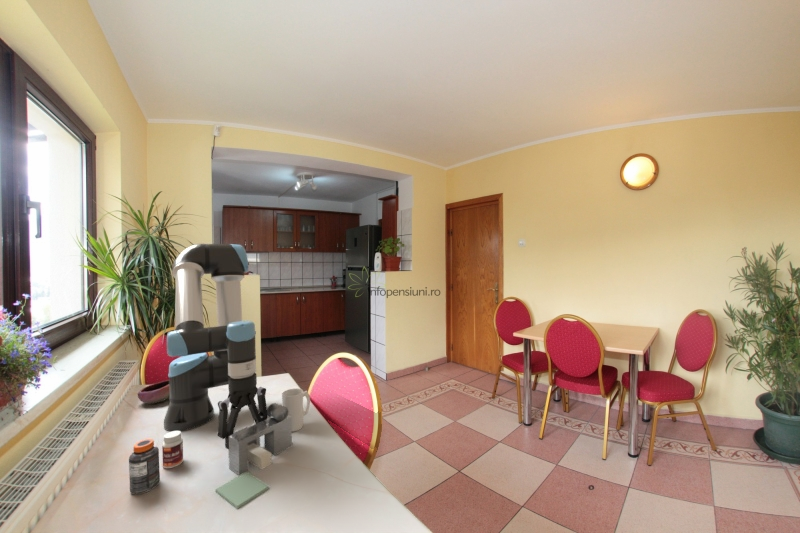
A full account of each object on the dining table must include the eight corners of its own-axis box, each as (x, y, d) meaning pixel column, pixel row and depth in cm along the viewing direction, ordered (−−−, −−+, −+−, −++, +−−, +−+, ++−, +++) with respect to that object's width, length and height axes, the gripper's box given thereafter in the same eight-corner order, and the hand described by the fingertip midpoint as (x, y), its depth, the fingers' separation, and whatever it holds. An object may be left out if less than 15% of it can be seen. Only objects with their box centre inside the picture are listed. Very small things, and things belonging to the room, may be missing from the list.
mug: (289, 434, 105) (288, 398, 105) (279, 428, 109) (278, 392, 109) (315, 422, 113) (315, 388, 112) (305, 417, 117) (304, 384, 117)
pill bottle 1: (153, 476, 85) (152, 433, 85) (164, 483, 82) (163, 439, 82) (125, 490, 80) (124, 445, 80) (136, 498, 77) (134, 451, 77)
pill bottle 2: (161, 471, 87) (160, 440, 87) (164, 461, 92) (163, 432, 92) (182, 465, 90) (181, 435, 90) (184, 456, 94) (183, 428, 94)
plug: (229, 453, 95) (228, 433, 95) (245, 445, 99) (245, 425, 99) (258, 471, 87) (257, 449, 87) (274, 461, 91) (274, 440, 91)
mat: (215, 491, 79) (215, 489, 79) (246, 473, 86) (246, 471, 86) (237, 508, 73) (237, 506, 73) (268, 488, 80) (268, 485, 80)
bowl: (146, 411, 124) (146, 390, 124) (133, 404, 131) (132, 384, 131) (191, 396, 138) (191, 377, 138) (176, 390, 145) (176, 372, 145)
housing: (229, 469, 88) (228, 421, 88) (282, 441, 101) (281, 399, 101) (239, 475, 85) (238, 426, 85) (292, 445, 98) (291, 403, 98)
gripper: (214, 387, 85) (216, 474, 85) (279, 367, 101) (281, 440, 101) (200, 382, 89) (203, 465, 89) (265, 363, 105) (267, 433, 105)
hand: (244, 451), depth 95 cm, fingers open, 7 cm apart
